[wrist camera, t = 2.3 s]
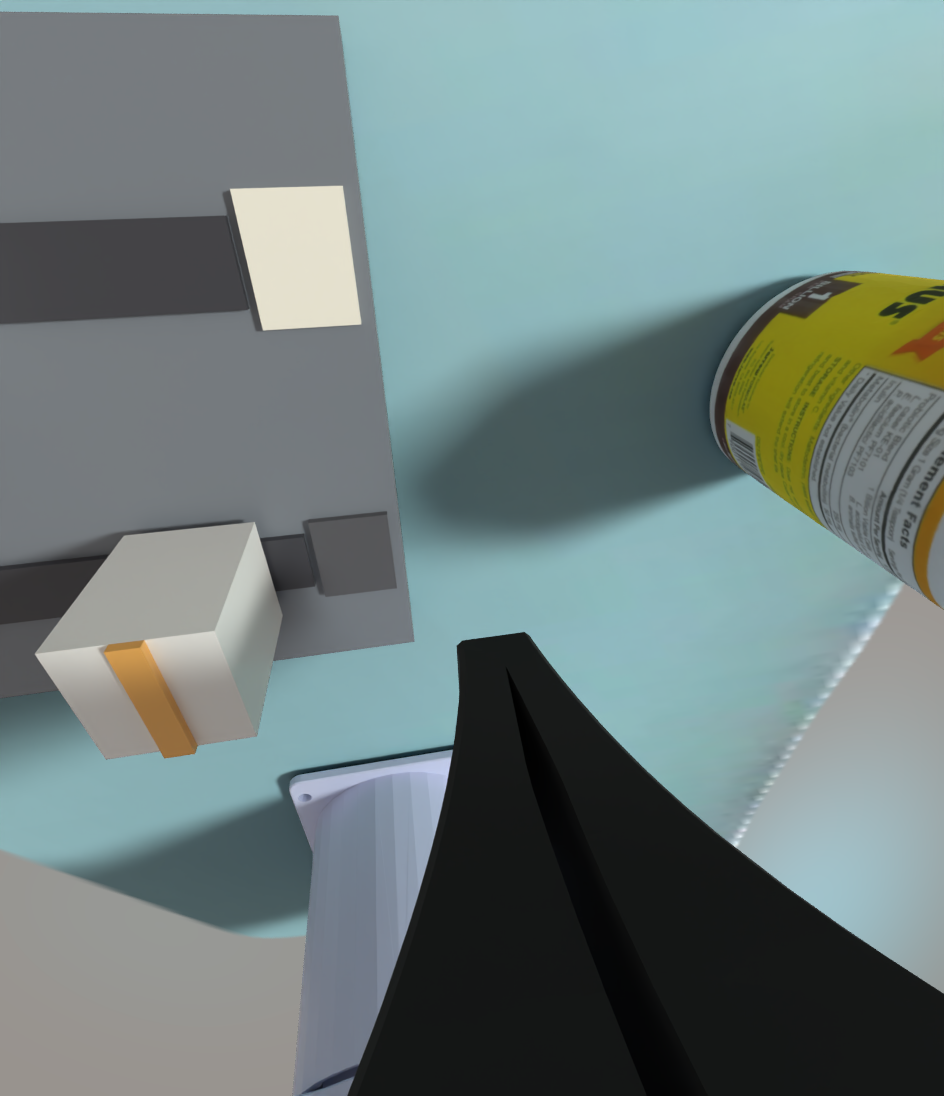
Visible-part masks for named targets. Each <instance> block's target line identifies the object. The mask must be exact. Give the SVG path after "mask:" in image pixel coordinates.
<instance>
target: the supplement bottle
mask: <svg viewBox="0 0 944 1096" xmlns="http://www.w3.org/2000/svg"><path fill="white" fill-rule="evenodd" d="M710 421H711V427H712V431H713V434H714V437H715V440H716V442H717V444H718V446H719V447H720V449H721V450H722V452H723V453H724V454H725V455H726V457H727V458H728V459H729V460H730V461H731V462H733V463H734V464H735V465H736V466H738V467H739V468H740V469H742V470H743V471H744V472H746V473H747V474H749V475H750V476H752V477H753V478H754V479H756V480H757V481H758V482H760V483H761V484H763V485H764V486H765V487H767V488H768V489H770V490H771V491H773V492H774V493H776V494H777V495H779V496H780V497H781V498H783V499H784V500H785V501H787V502H788V503H790V504H791V505H793V506H794V507H796V508H797V509H798V510H800V511H801V512H803V513H804V514H806V515H807V516H809V517H810V518H811V519H813V520H814V521H815V522H817V523H818V524H820V525H821V526H823V527H824V528H826V529H827V530H829V531H830V532H832V533H833V534H835V535H836V536H838V537H839V538H841V539H842V540H843V541H845V542H846V543H848V544H849V545H851V546H852V547H854V548H855V549H856V550H858V551H859V552H861V553H862V554H864V555H865V556H866V557H868V558H869V559H871V560H872V561H874V562H875V563H877V564H878V565H879V566H881V567H882V568H884V569H885V570H887V571H888V572H890V573H891V574H892V575H894V576H895V577H897V578H898V579H900V580H901V581H902V582H904V583H905V584H907V585H908V586H910V587H911V588H913V589H914V590H916V591H917V592H919V593H920V594H922V595H923V596H924V597H926V598H927V599H929V600H930V601H932V602H933V603H934V604H936V605H937V606H939V607H940V608H942V609H943V610H944V280H936V279H927V278H919V277H910V276H901V275H892V274H883V273H873V272H860V271H839V272H831V273H826V274H822V275H818V276H815V277H812V278H809V279H807V280H804V281H802V282H800V283H797V284H795V285H793V286H791V287H790V288H788V289H786V290H785V291H783V292H782V293H780V294H778V295H777V296H775V297H774V298H772V299H771V300H770V301H768V302H767V303H766V304H765V305H764V306H762V307H761V308H760V309H759V310H758V311H757V312H756V313H755V314H754V315H753V316H752V317H751V318H750V319H749V320H748V321H747V322H746V324H745V325H744V326H743V327H742V328H741V329H740V331H739V332H738V333H737V335H736V336H735V338H734V339H733V341H732V342H731V344H730V345H729V347H728V349H727V351H726V352H725V354H724V356H723V358H722V360H721V362H720V365H719V367H718V370H717V372H716V375H715V379H714V382H713V386H712V391H711V397H710Z"/></svg>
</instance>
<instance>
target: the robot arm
mask: <svg viewBox="0 0 944 1096" xmlns="http://www.w3.org/2000/svg"><path fill="white" fill-rule="evenodd" d="M457 659H458V676H459V706H458V715H457V724H456V732H455V740H454V746H453V750H447V751H441V752H435V753H429V754H423V755H417V756H410V757H404V758H398V759H392V760H386V761H380V762H374V763H368V764H362V765H356V766H349V767H343V768H337V769H331V770H325V771H319V772H313V773H307V774H301V775H297V776H295V777H294V778H292V779H291V781H290V786H289V792H290V795H291V798H292V800H293V803H294V805H295V808H296V811H297V813H298V816H299V818H300V821H301V824H302V826H303V829H304V831H305V834H306V837H307V839H308V842H309V845H310V847H311V850H312V852H313V862H312V874H311V886H310V897H309V909H308V921H307V932H306V944H305V955H304V967H303V979H302V990H301V1002H300V1014H299V1026H298V1037H297V1049H296V1060H295V1072H294V1083H293V1095H292V1096H944V994H943V993H942V992H940V991H939V990H937V989H936V988H934V987H932V986H931V985H929V984H928V983H926V982H925V981H923V980H922V979H920V978H919V977H917V976H915V975H914V974H912V973H911V972H909V971H908V970H906V969H905V968H903V967H902V966H900V965H899V964H897V963H896V962H894V961H892V960H891V959H889V958H888V957H886V956H885V955H883V954H882V953H880V952H879V951H877V950H876V949H874V948H873V947H871V946H870V945H869V944H867V943H865V942H864V941H863V940H861V939H859V938H858V937H857V936H855V935H854V934H852V933H851V932H849V931H848V930H846V929H845V928H843V927H842V926H840V925H839V924H837V923H836V922H835V921H833V920H832V919H831V918H829V917H828V916H826V915H825V914H824V913H822V912H821V911H819V910H818V909H817V908H815V907H814V906H812V905H811V904H809V903H808V902H807V901H805V900H804V899H803V898H801V897H800V896H798V895H797V894H796V893H794V892H793V891H791V890H790V889H788V888H787V887H786V886H785V885H783V884H782V883H781V882H779V881H778V880H777V879H776V878H774V877H773V876H772V875H770V874H769V873H767V872H766V871H765V870H764V869H763V868H761V867H760V866H759V865H757V864H756V863H755V862H753V861H752V860H751V859H750V858H748V857H747V856H746V855H745V854H743V853H742V852H741V851H739V850H738V849H737V848H735V847H734V846H733V845H732V844H730V843H729V842H728V841H726V840H725V839H724V838H723V837H721V836H720V835H719V834H718V833H716V832H715V831H714V830H713V829H712V828H710V827H709V826H708V825H707V824H706V823H705V822H703V821H702V820H701V819H700V818H699V817H698V816H696V815H695V814H694V813H693V812H692V811H690V810H689V809H688V808H687V807H686V806H685V805H683V804H682V803H681V802H680V801H679V800H678V799H677V798H676V797H675V796H673V795H672V794H671V793H670V792H669V791H668V790H667V789H666V788H665V787H663V786H662V785H661V784H660V783H659V782H658V781H657V780H656V779H655V778H654V777H653V776H652V775H651V774H649V773H648V772H647V771H646V770H645V769H644V768H643V767H642V766H641V765H640V764H639V763H638V762H637V761H636V760H635V759H634V758H633V757H632V756H631V755H630V754H629V753H628V752H627V751H626V750H625V749H624V748H623V747H622V746H621V745H620V744H619V743H618V742H617V741H616V740H615V739H614V738H613V736H612V735H611V734H610V733H609V732H608V731H607V730H606V729H605V728H604V727H603V726H602V725H601V724H600V723H599V721H598V720H597V719H596V718H595V717H594V716H593V715H592V714H591V712H590V711H589V710H588V709H587V708H586V707H585V706H584V704H583V703H582V702H581V701H580V700H579V699H578V698H577V697H576V695H575V694H574V693H573V692H572V691H571V689H570V688H569V687H568V686H567V685H566V683H565V682H564V681H563V680H562V678H561V677H560V676H559V675H558V673H557V672H556V671H555V670H554V668H553V667H552V666H551V665H550V663H549V662H548V661H547V659H546V658H545V657H544V655H543V654H542V653H541V651H540V650H539V649H538V647H537V646H536V644H535V643H534V642H533V640H532V639H531V637H530V636H529V635H528V634H526V633H525V632H522V633H515V634H507V635H500V636H493V637H486V638H478V639H471V640H464V641H462V642H460V643H459V644H458V645H457Z"/></svg>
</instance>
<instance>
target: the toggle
mask: <svg viewBox="0 0 944 1096" xmlns="http://www.w3.org/2000/svg"><path fill="white" fill-rule="evenodd" d="M282 616H283V615H282V612H281V608H280V605H279V602H278V598H277V595H276V592H275V588H274V585H273V582H272V578H271V575H270V571H269V568H268V565H267V561H266V558H265V555H264V551H263V548H262V545H261V541H260V538H259V535H258V531H257V528H256V525H255V522H249V523H240V524H230V525H221V526H211V527H202V528H192V529H182V530H173V531H163V532H154V533H144V534H134V535H125V536H123V538H122V539H121V540H120V542H119V543H118V544H117V546H116V547H115V548H114V550H113V551H112V552H111V554H110V555H109V556H108V557H107V559H106V560H105V561H104V563H103V564H102V565H101V567H100V568H99V569H98V571H97V572H96V573H95V575H94V576H93V577H92V579H91V580H90V581H89V583H88V584H87V585H86V587H85V588H84V589H83V591H82V592H81V593H80V595H79V596H78V597H77V598H76V600H75V601H74V602H73V604H72V605H71V606H70V608H69V609H68V610H67V612H66V613H65V614H64V616H63V617H62V618H61V620H60V621H59V622H58V624H57V625H56V626H55V628H54V629H53V630H52V632H51V633H50V634H49V636H48V637H47V638H46V639H45V641H44V642H43V643H42V645H41V646H40V647H39V649H38V650H37V651H36V653H35V655H36V657H37V658H38V660H39V661H40V663H41V664H42V666H43V667H44V669H45V670H46V672H47V673H48V675H49V676H50V678H51V679H52V681H53V682H54V684H55V685H56V686H57V688H58V689H59V691H60V692H61V694H62V695H63V697H64V698H65V700H66V701H67V703H68V704H69V706H70V707H71V709H72V710H73V712H74V713H75V715H76V716H77V718H78V719H79V720H80V722H81V723H82V725H83V726H84V728H85V729H86V731H87V732H88V734H89V735H90V737H91V738H92V740H93V741H94V743H95V744H96V746H97V747H98V749H99V750H100V751H101V753H102V754H103V756H104V757H105V759H113V758H119V757H126V756H132V755H139V754H145V753H152V752H158V751H160V752H161V753H162V755H163V757H164V758H170V757H177V756H183V755H190V754H195V753H196V749H197V746H198V745H204V744H210V743H217V742H223V741H230V740H237V739H243V738H250V737H256V736H257V734H258V729H259V724H260V720H261V715H262V710H263V706H264V701H265V696H266V692H267V687H268V682H269V677H270V673H271V668H272V663H273V659H274V654H275V649H276V644H277V640H278V635H279V630H280V626H281V621H282Z"/></svg>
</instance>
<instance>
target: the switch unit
mask: <svg viewBox="0 0 944 1096" xmlns="http://www.w3.org/2000/svg"><path fill="white" fill-rule="evenodd" d="M249 522H255V525H256V528H257V531H258V535H259V538H260V541H261V545H262V548H263V551H264V555H265V558H266V561H267V565H268V568H269V571H270V575H271V578H272V582H273V585H274V588H275V592H276V595H277V598H278V602H279V605H280V608H281V612H282V615H283V616H282V621H281V626H280V630H279V635H278V640H277V644H276V649H275V654H274V659H273V661H276V660H284V659H291V658H298V657H306V656H313V655H320V654H327V653H335V652H342V651H349V650H357V649H364V648H371V647H379V646H386V645H393V644H401V643H408V642H414V634H413V624H412V615H411V607H410V599H409V590H408V582H407V574H406V566H405V557H404V549H403V541H402V533H401V524H400V516H399V508H398V499H397V491H396V483H395V475H394V466H393V458H392V450H391V442H390V433H389V425H388V417H387V409H386V400H385V392H384V384H383V376H382V367H381V359H380V351H379V343H378V334H377V326H376V318H375V310H374V301H373V293H372V285H371V276H370V268H369V260H368V252H367V243H366V235H365V227H364V219H363V210H362V202H361V194H360V186H359V177H358V169H357V161H356V153H355V144H354V136H353V128H352V120H351V111H350V103H349V95H348V87H347V78H346V70H345V62H344V54H343V45H342V37H341V30H340V24H339V17H338V16H317V15H231V14H145V13H59V12H0V698H6V697H13V696H20V695H28V694H35V693H42V692H50V691H57V690H59V689H58V688H57V686H56V685H55V684H54V682H53V681H52V679H51V678H50V676H49V675H48V673H47V672H46V670H45V669H44V667H43V666H42V664H41V663H40V661H39V660H38V658H37V657H36V655H35V653H36V651H37V650H38V649H39V647H40V646H41V645H42V643H43V642H44V641H45V639H46V638H47V637H48V636H49V634H50V633H51V632H52V630H53V629H54V628H55V626H56V625H57V624H58V622H59V621H60V620H61V618H62V617H63V616H64V614H65V613H66V612H67V610H68V609H69V608H70V606H71V605H72V604H73V602H74V601H75V600H76V598H77V597H78V596H79V595H80V593H81V592H82V591H83V589H84V588H85V587H86V585H87V584H88V583H89V581H90V580H91V579H92V577H93V576H94V575H95V573H96V572H97V571H98V569H99V568H100V567H101V565H102V564H103V563H104V561H105V560H106V559H107V557H108V556H109V555H110V554H111V552H112V551H113V550H114V548H115V547H116V546H117V544H118V543H119V542H120V540H121V539H122V538H123V536H125V535H134V534H144V533H154V532H163V531H173V530H182V529H192V528H202V527H211V526H221V525H230V524H240V523H249Z"/></svg>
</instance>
